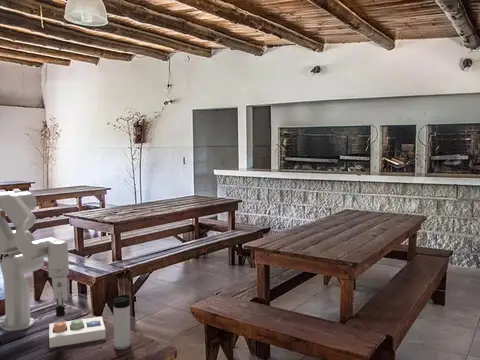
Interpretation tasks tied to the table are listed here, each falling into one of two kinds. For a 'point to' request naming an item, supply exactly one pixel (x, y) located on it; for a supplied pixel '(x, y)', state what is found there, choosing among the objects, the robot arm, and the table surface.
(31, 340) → the table surface
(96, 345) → the table surface
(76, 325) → the sage button
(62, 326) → the terracotta button
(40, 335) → the table surface
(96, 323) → the slate button
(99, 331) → the button box
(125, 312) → the travel mug
